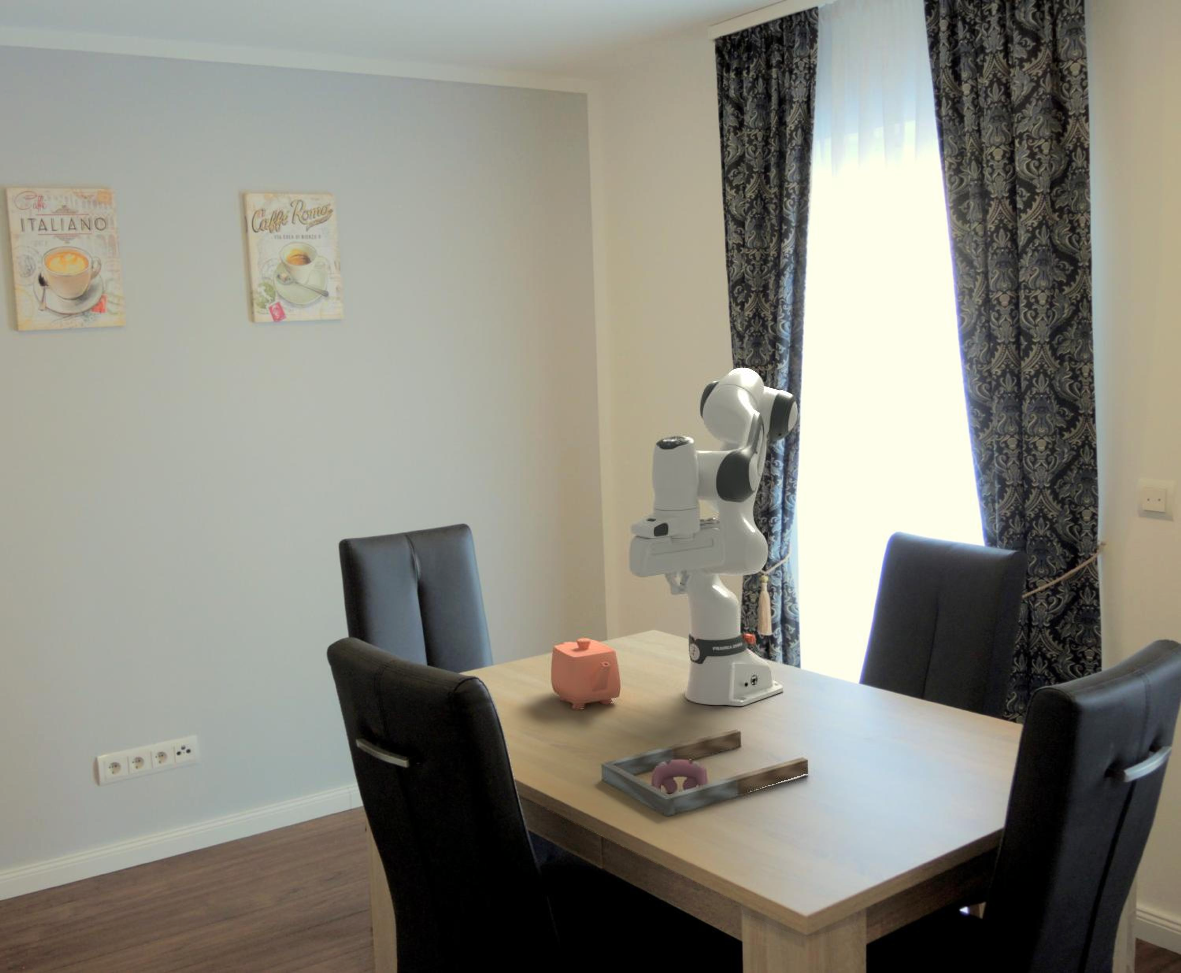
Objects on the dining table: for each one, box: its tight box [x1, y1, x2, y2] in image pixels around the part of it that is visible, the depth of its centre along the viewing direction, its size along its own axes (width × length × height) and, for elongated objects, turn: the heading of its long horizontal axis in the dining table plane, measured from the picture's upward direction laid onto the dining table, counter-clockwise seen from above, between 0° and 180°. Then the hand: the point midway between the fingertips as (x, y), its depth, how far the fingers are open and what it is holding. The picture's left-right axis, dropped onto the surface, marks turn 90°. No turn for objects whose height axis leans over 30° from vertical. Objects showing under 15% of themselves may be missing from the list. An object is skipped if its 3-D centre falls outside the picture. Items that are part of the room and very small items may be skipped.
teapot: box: [550, 637, 621, 710], centre depth 258 cm, size 22×13×14 cm, turn 25°
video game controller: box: [651, 759, 709, 794], centre depth 203 cm, size 10×5×7 cm, turn 84°
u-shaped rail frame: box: [600, 729, 809, 817], centre depth 210 cm, size 31×21×3 cm
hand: (679, 593), depth 221 cm, fingers closed
